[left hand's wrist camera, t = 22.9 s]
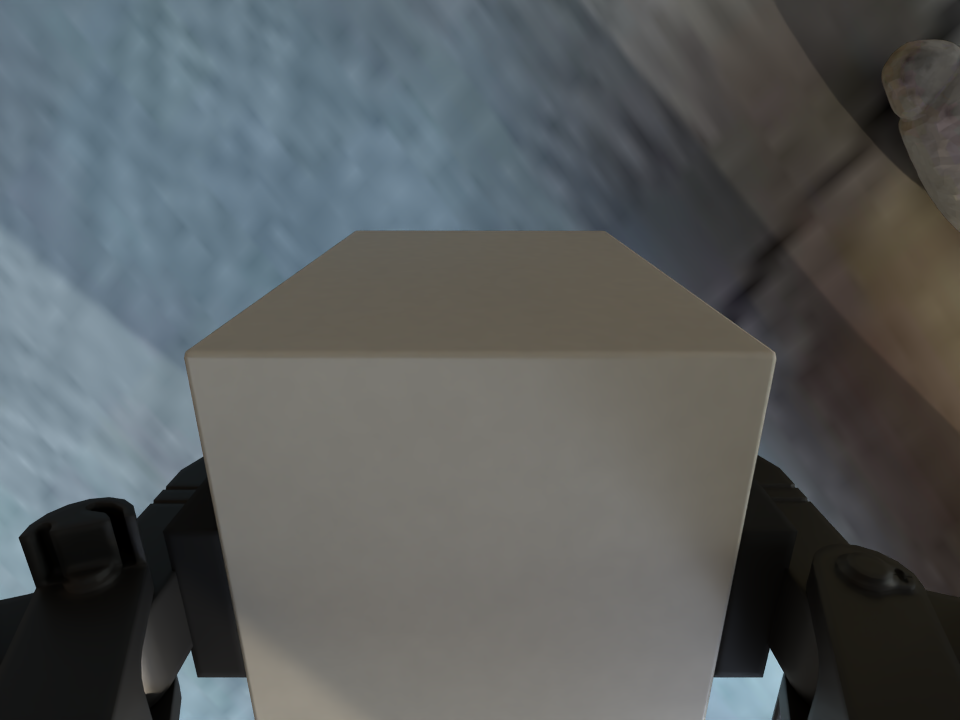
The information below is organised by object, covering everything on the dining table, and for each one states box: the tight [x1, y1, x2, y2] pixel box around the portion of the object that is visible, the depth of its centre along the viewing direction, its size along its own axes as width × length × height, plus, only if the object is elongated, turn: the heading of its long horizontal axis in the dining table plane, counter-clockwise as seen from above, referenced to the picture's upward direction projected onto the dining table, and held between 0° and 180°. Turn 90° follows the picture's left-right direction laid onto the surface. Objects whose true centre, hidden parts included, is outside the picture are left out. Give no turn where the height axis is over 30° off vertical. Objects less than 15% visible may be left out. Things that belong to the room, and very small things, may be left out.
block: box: [184, 231, 776, 720], centre depth 13 cm, size 8×7×10 cm
